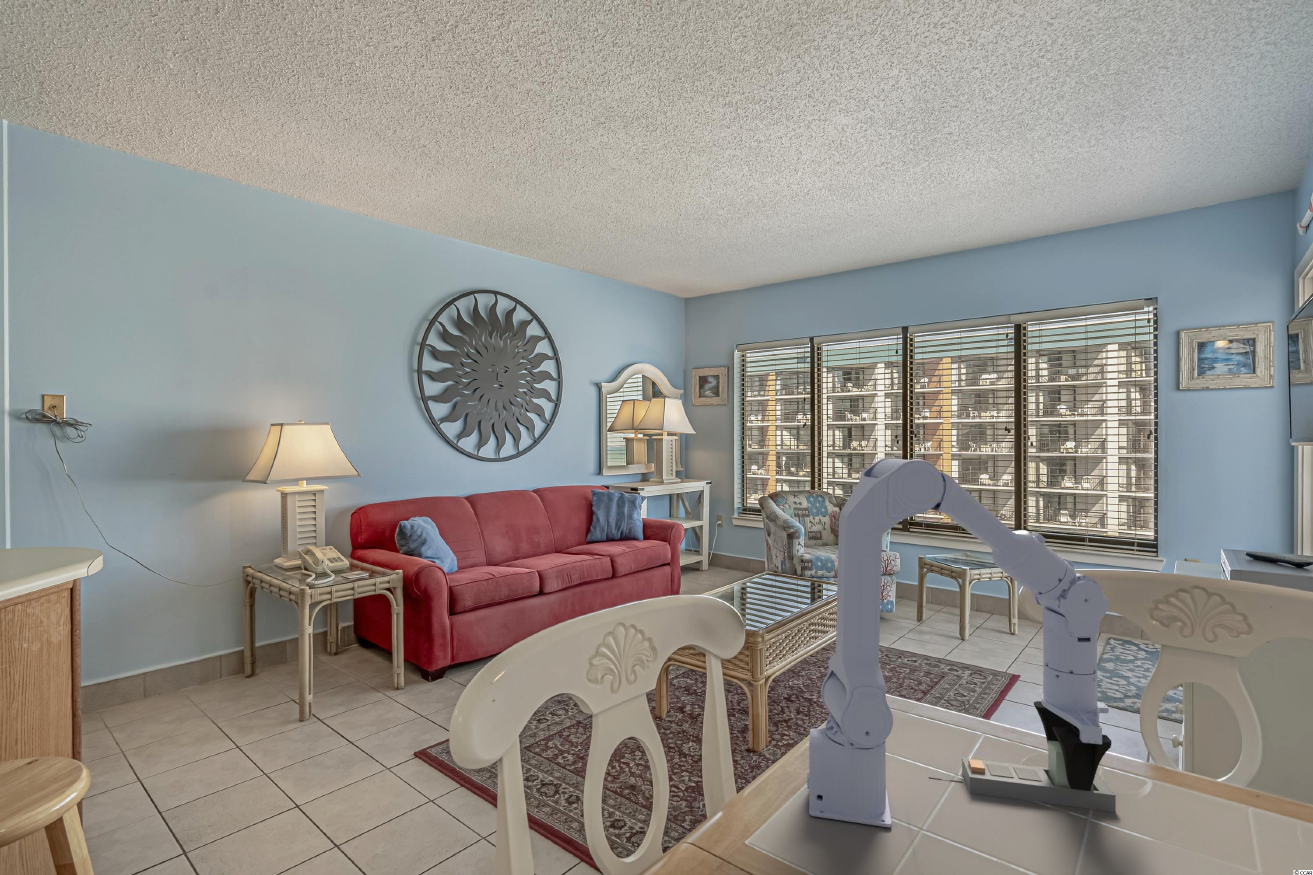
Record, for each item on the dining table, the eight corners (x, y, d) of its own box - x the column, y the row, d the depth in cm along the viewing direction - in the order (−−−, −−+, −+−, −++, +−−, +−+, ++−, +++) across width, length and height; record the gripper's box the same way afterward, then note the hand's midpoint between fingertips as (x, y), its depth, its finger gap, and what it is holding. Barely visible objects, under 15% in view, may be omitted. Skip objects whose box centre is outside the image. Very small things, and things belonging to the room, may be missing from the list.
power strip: (931, 795, 82) (931, 767, 82) (926, 775, 87) (925, 748, 87) (1115, 819, 76) (1115, 789, 76) (1099, 797, 81) (1098, 769, 81)
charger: (1056, 799, 79) (1056, 743, 79) (1048, 786, 82) (1048, 732, 82) (1093, 804, 78) (1092, 747, 78) (1084, 791, 81) (1083, 736, 81)
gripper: (1132, 691, 72) (1133, 812, 72) (1084, 650, 86) (1084, 751, 86) (1061, 685, 74) (1062, 802, 74) (1025, 646, 88) (1026, 744, 88)
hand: (1070, 774), depth 80 cm, fingers open, 6 cm apart
